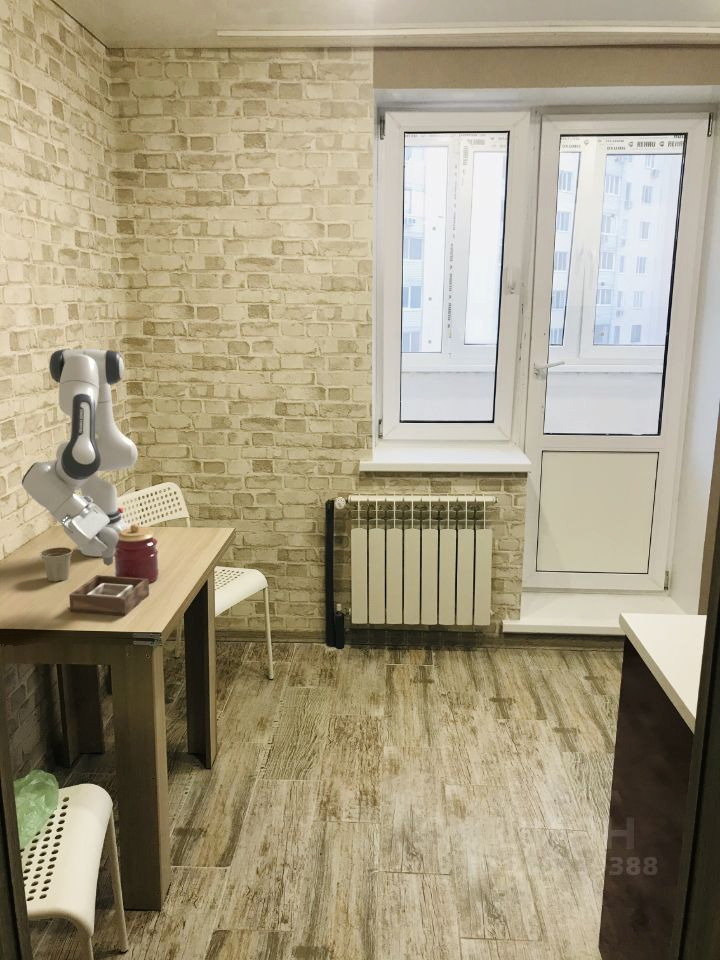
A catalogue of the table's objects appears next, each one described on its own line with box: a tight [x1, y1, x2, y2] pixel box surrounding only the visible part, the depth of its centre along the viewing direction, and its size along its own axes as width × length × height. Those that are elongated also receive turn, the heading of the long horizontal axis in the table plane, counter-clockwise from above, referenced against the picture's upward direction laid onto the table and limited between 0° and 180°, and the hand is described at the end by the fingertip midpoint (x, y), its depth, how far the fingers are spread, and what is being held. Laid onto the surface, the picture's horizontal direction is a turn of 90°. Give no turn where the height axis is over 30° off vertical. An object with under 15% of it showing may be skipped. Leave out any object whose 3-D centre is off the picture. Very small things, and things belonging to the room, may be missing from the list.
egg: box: [96, 527, 118, 566], centre depth 219 cm, size 6×6×11 cm
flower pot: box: [39, 546, 74, 582], centre depth 241 cm, size 9×9×9 cm
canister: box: [113, 523, 160, 584], centre depth 240 cm, size 13×13×18 cm
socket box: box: [68, 575, 150, 617], centre depth 222 cm, size 16×16×5 cm
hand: (109, 545), depth 219 cm, fingers closed on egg, 6 cm apart
